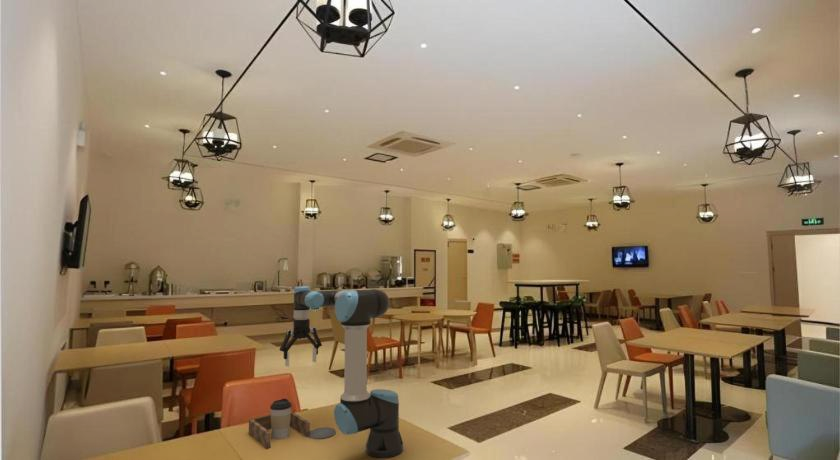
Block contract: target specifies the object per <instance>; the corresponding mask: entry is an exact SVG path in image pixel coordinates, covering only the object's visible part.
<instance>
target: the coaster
mask: <svg viewBox="0 0 840 460" xmlns="http://www.w3.org/2000/svg"><path fill="white" fill-rule="evenodd" d="M336 433H337V429H335V428H334V427H328V426H324V427H316V428H313V429H310V435H309V437H308V438H310V439H313V440H325V439H329V438H331V437H334V436H336Z"/></svg>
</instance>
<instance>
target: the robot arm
mask: <svg viewBox="0 0 840 460" xmlns="http://www.w3.org/2000/svg"><path fill="white" fill-rule="evenodd" d="M390 305H391V304H390V297H389V296H388V294H387V293H386V292H384V291H383V290H380V289H375V288H373V289H353V290H352V289H351V290H345V289H335V290H333V289H332V290H315V291H314V290H312V291H311V288H310V286H309V285H304V286H295V287H294V290H293V321H292V322H293V329H292V330H291V329H290V330H289V329H287V330H286V335H285V336H284V339H283V340H282V343H281V345H280V348H279V351H281V352H283V359H284V360H285V363H284V364H285V365H284V366H286V367H290V349H291V347H292V346H293V345H294V344H295V342H296V341H297V340H302V339H307V340H308V342H310V343H311V345H312V363H313V362H314V363H317V355H318V354H319V348H320V347H322V345H323V344H322V341H321V339H320V337H319V335H318V334H317V328H316V327H314V326H313V327H311V328H310V326H311V325H310V324H311V323H310V322H311V320H310V317H311V316H310V315H311V313H310V312H311V309H318V308H322V307H323V308H326V307H334V315H335V318H336V319H337V320H338V322H340V326H341V328H343V329H344V378H343V379H344V382H343V383H344V389H343V390H344V391H343V393H342V394H341V395H340V400H339V403H337V404H336V405H335V407H334V408H333V415H334V420H335V424H336V427H337V428H338V430H339V431H340V432H341V433H342V434H344V435H345V436H349V435H353V434H355V435H356V434H358V433H361V432H363V431H366V430H369V433H368V436H367V440H366V444H365V453H366V454H367V455H369V456H370V457H374V458H381V459H384V458H392V457H395V456H397V455H399V454H401V453H402V452H403V451H404V443H403V442H404V441H403V438H402V435H401V433H400V428H399V427H400V426H399V422H400V421H399V420H400V419H399V417H400V415H399V412H400V411H399V410H400V409H399V408H400V407H399V406H400V402H399V400H400V399H399V395H398V393H397V392H396V391H394V390H391V389H381V388H380V389H379V388H376V389H372V390H371V391H368V389H367V388H368V387H367V385H368V382H367V377H368V374H367V373H368V371H367V366H368V363H367V359H368V358H367V356H368V353H367V352H368V348H367V347H368V342H367V341H368V340H367V339H368V332H367V330H368V328H369V327H370V326H371V323H372V321H371V320H372V319H375V318H376V319H377V318H380V317H382V316H384V315H385V314H386V313H387V311H388V310H389V309H390ZM310 332H311V333H312V336H311V335H310ZM292 335H293V336H292ZM291 336H292V337H291ZM312 337H314V339H313V338H312Z"/></svg>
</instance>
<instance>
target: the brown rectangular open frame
mask: <svg viewBox="0 0 840 460" xmlns="http://www.w3.org/2000/svg"><path fill="white" fill-rule="evenodd" d="M289 427H291V428H292V429H293V430H295V431H297V432H298V433H300V434H301V435H303V436H304V437H305V438H310V437H309V435H310V431H311V422H310V421H309V420H307V419H305V418H304V417H302V416H300V415H299V414H297V413H295V412H294V411H292V410H291V418H290V426H289ZM269 430H272V428H271V413H270V414H267V415H262V416H257V417H254V418H249V419H248V434H249V435H250V436H251V437H252V438H253V439H254V440H256V441H257V442H258V443H259V444H261V445H262V446H263V447H264V448H265V449H267V450H268V449H270V448H271V440H272V439H271V437H272V432H271V431H269Z"/></svg>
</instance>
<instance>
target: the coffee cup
mask: <svg viewBox="0 0 840 460" xmlns="http://www.w3.org/2000/svg"><path fill="white" fill-rule="evenodd" d="M292 406H293V405H292V402H291V401H289V400H288V399H287V398H281V399H277V400H274V401H273V402H272V403H271V404H270V407H269V409H270V414H271V428H272V429H271V437H272V439H275V440H283V439H285V438H288V437H289V434H290V427H291V426H290V418H291V411H292Z"/></svg>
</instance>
